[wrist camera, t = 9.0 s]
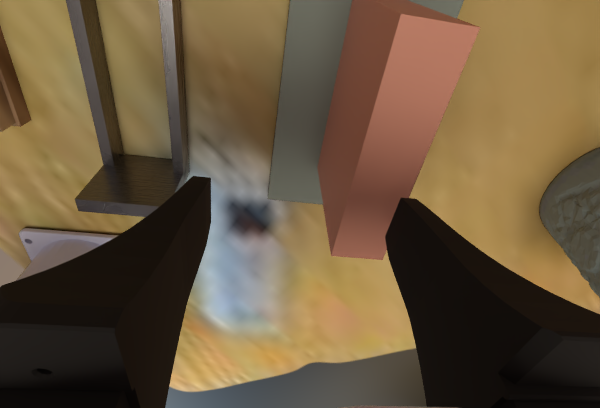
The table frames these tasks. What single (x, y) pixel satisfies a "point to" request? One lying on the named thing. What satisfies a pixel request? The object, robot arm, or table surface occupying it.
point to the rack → (117, 166)
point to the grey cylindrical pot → (577, 214)
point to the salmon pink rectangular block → (385, 115)
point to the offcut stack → (10, 92)
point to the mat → (312, 92)
